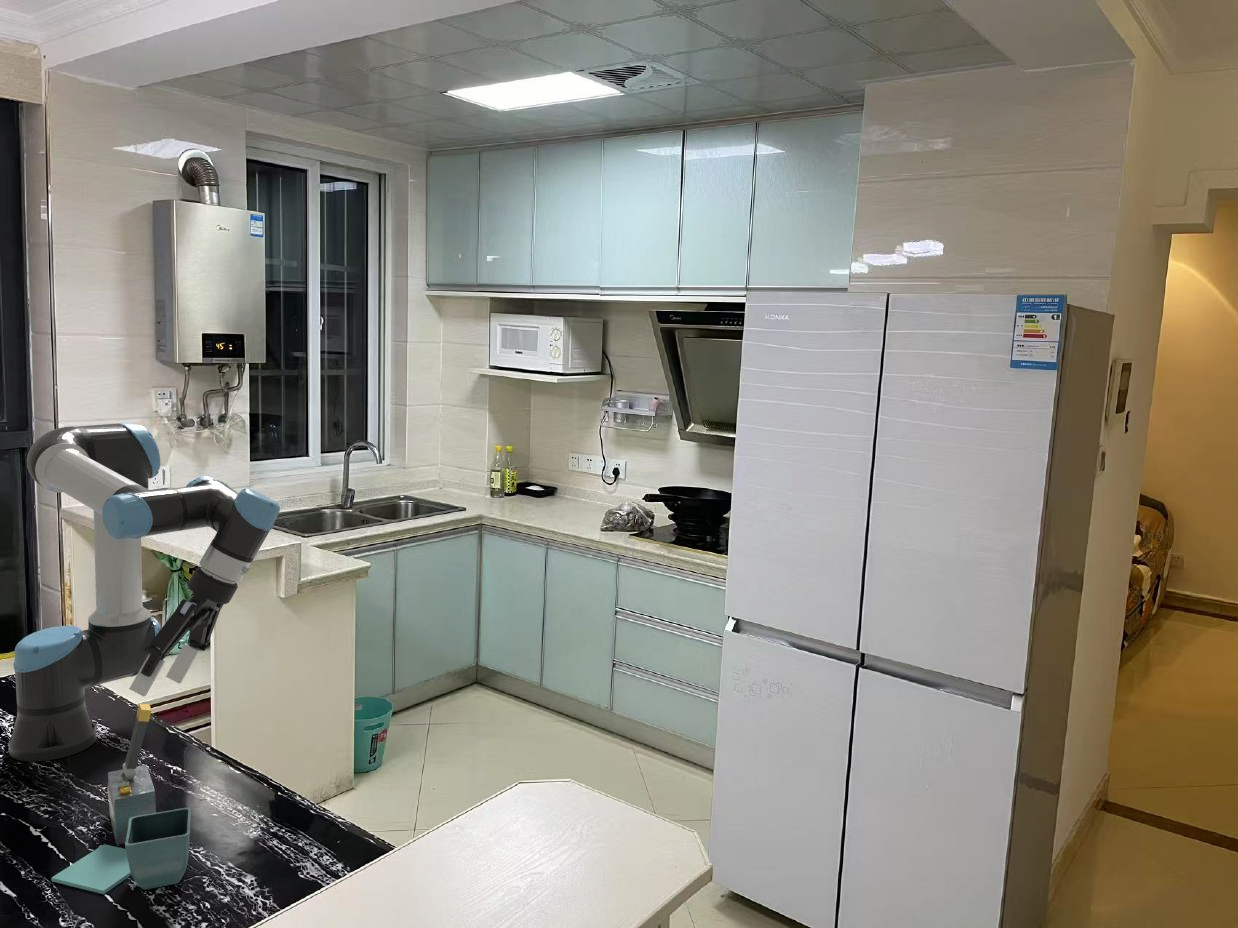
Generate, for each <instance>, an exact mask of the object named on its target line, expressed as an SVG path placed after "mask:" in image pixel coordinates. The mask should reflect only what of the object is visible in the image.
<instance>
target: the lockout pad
mask: <svg viewBox="0 0 1238 928" xmlns="http://www.w3.org/2000/svg"><path fill="white" fill-rule="evenodd" d="M130 877H132V875H131V872H130V869H129V864H128V859H127V854H126V848H122V847H118V846H113V845H109V844H106V843H104V844H102V845H100V846H99V847H97V848H96V849H94V850H93V851H91V852H90V853H87V855H85V856H83V857H82V858H79V860H77V861H76V862H74V863H72V864H70V865H69V866H67V867H66V868H64V869H63V870H61V871H60V872H58V873H56V874H55V875H54V876H53V875H52V877H51V878H50V879H51V882H52V883H53V882H54V883H57V884H62V885H65V886H68V887H72V888H73V887H74V888H78V889H81V890H85V891H89V892H92V893H93V892H94V893H97V894H101V895H105V894H106V893H108V892H109V891H111V890H113V888H115V887H117V886H119V885H120V884H121V883H122V882H125V880H127V879H128V878H130Z"/></svg>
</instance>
